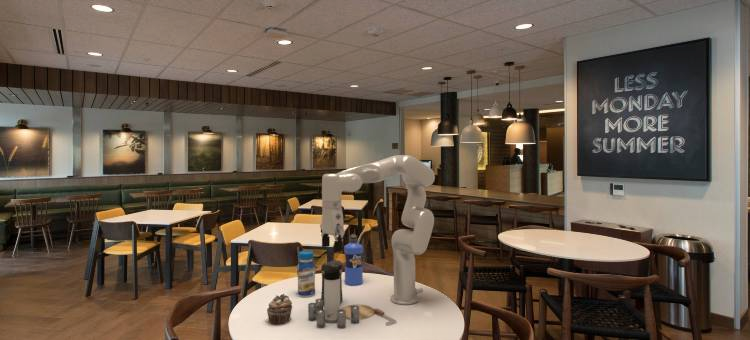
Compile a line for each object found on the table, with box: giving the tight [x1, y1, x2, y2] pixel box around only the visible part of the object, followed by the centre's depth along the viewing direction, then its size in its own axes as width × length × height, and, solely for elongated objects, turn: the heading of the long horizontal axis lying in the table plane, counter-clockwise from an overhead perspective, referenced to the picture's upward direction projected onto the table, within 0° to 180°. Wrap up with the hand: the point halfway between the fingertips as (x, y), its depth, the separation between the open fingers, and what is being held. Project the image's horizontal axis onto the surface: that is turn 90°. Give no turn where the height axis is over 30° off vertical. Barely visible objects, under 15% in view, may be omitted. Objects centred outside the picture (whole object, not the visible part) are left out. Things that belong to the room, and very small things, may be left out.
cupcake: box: [266, 293, 293, 326], centre depth 156 cm, size 10×10×10 cm
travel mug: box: [323, 270, 341, 324], centre depth 156 cm, size 6×7×20 cm
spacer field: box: [307, 298, 360, 330], centre depth 157 cm, size 16×19×6 cm
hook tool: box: [373, 308, 397, 326], centre depth 158 cm, size 13×5×2 cm, turn 36°
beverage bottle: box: [296, 250, 316, 298], centre depth 186 cm, size 8×8×20 cm
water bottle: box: [343, 233, 364, 287], centre depth 203 cm, size 9×9×25 cm
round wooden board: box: [340, 304, 375, 320], centre depth 165 cm, size 15×15×1 cm
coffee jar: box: [320, 259, 343, 306], centre depth 175 cm, size 10×8×19 cm
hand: (331, 248), depth 156 cm, fingers open, 9 cm apart
